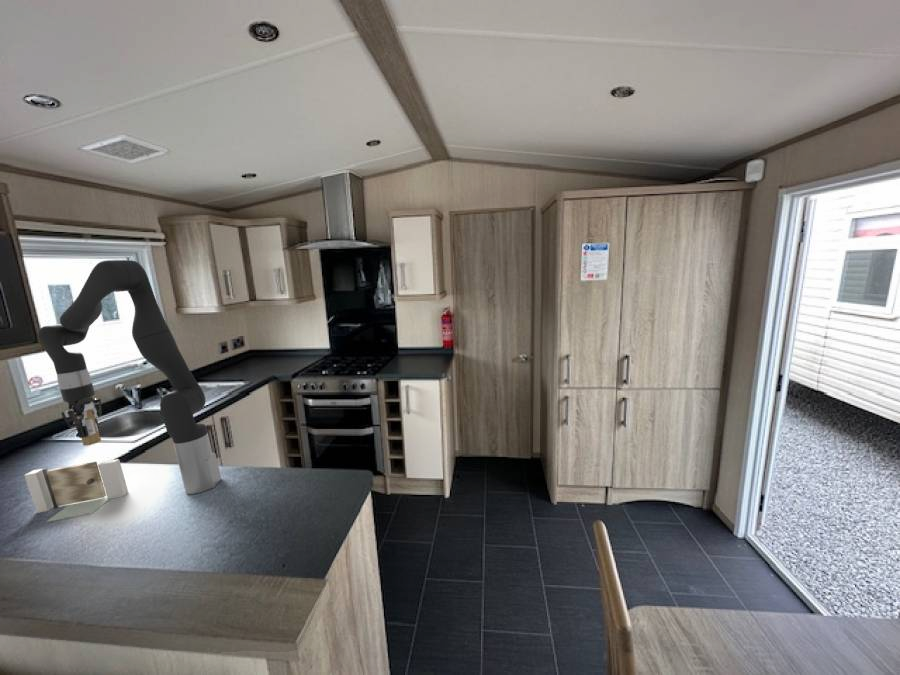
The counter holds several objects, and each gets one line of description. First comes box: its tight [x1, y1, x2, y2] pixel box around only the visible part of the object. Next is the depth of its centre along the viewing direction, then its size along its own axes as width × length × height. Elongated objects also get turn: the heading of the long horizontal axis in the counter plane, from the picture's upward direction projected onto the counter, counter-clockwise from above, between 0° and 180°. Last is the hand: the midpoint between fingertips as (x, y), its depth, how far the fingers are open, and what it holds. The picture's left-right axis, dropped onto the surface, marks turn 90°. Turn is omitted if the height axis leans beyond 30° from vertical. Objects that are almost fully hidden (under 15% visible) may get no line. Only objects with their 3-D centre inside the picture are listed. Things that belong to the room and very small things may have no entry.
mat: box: [46, 497, 112, 523], centre depth 116 cm, size 12×8×1 cm, turn 101°
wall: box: [97, 458, 129, 499], centre depth 121 cm, size 5×2×12 cm, turn 101°
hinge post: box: [24, 468, 54, 514], centre depth 117 cm, size 3×3×13 cm
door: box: [42, 461, 107, 509], centre depth 118 cm, size 14×2×13 cm, turn 101°
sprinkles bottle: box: [76, 404, 102, 447], centre depth 123 cm, size 5×5×13 cm
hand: (90, 433), depth 124 cm, fingers closed on sprinkles bottle, 4 cm apart
